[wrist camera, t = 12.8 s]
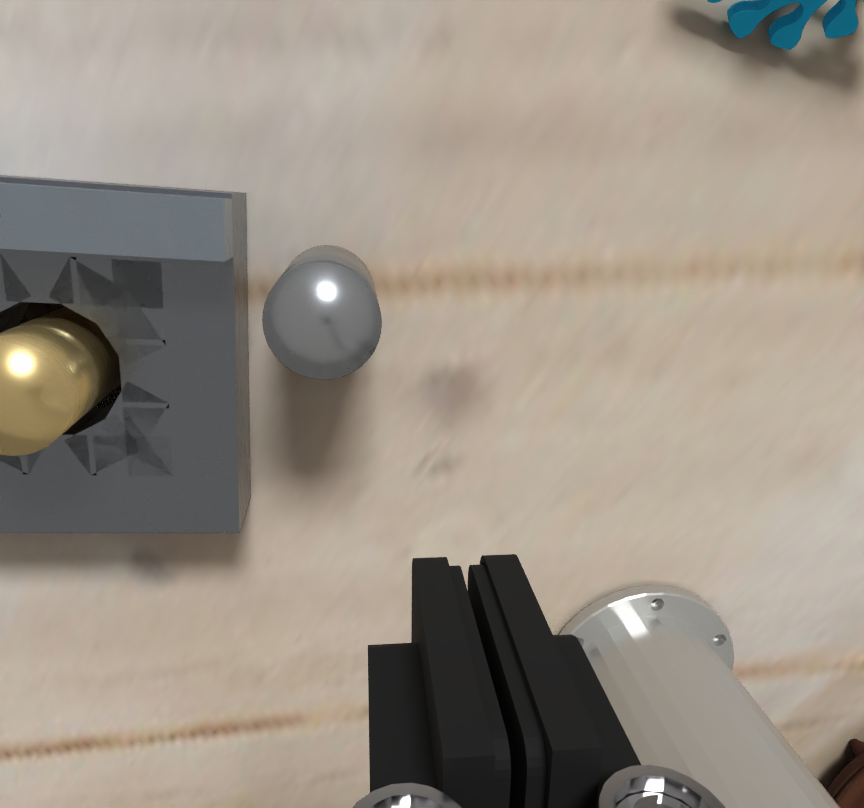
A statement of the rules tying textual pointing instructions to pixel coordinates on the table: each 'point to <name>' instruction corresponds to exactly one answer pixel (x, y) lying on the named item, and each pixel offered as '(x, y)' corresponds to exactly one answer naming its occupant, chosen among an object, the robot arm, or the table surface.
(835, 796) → the brown spool rack
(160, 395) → the jig
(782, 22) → the blue spiky piece
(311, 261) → the metal cylinder plug
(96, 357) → the brass cylinder plug
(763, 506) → the table surface
